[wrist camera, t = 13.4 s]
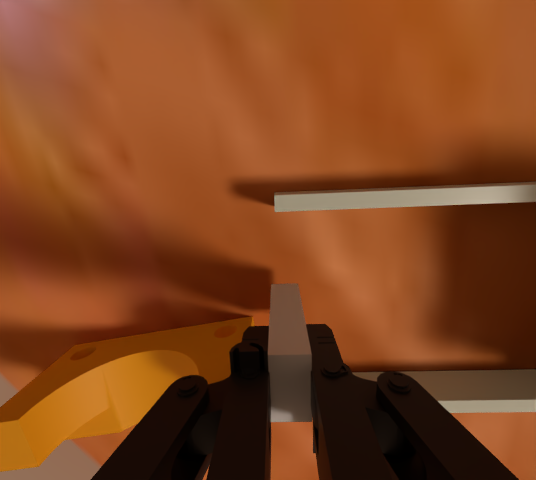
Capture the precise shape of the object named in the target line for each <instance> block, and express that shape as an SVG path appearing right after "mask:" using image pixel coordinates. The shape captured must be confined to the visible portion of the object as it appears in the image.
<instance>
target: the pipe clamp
mask: <svg viewBox="0 0 536 480" xmlns="http://www.w3.org/2000/svg"><path fill="white" fill-rule="evenodd" d="M249 326H255V325H254V320H253V316H251V317H245V318H238V319H232V320H226V321H220V322H214V323H207V324H201V325H195V326H189V327H183V328H176V329H170V330H164V331H158V332H152V333H146V334H139V335H133V336H127V337H121V338H115V339H108V340H102V341H96V342H90V343H84V344H77V345H74V346H73V347H72V348H71V349H69V350H68V351H67V352H66V353H65V354H63V355H62V356H61V357H60V358H59V359H57V360H56V361H55V362H54V363H53V364H51V365H50V366H49V367H48V368H47V369H45V370H44V371H43V372H42V373H41V374H39V375H38V376H37V377H36V378H35V379H34V380H32V381H31V382H30V383H29V384H28V385H26V386H25V387H24V388H23V389H22V390H20V391H19V392H18V393H17V394H16V395H14V396H13V397H12V398H11V399H10V400H8V401H7V402H6V403H5V404H4V405H2V406H1V407H0V472H2V471H9V470H17V469H25V468H32V467H39V466H40V465H41V463H42V462H43V461H44V460H45V459H46V458H47V457H48V456H49V455H50V454H51V452H52V451H53V450H54V449H55V448H56V447H57V446H58V445H60V444H61V443H62V442H63V441H64V440H68V439H75V438H82V437H89V436H97V435H104V434H111V433H118V432H122V431H123V430H125V429H127V428H129V427H131V426H133V425H135V424H137V423H139V422H140V420H141V419H142V418H143V417H144V416H145V415H146V413H147V412H148V411H149V410H150V409H151V407H152V406H153V405H154V404H155V403H156V401H157V400H158V399H159V398H160V397H161V395H162V394H163V393H164V392H165V391H166V390H167V388H168V387H169V386H170V385H171V384H172V383H173V382H174V381H176V380H177V379H179V378H181V377H184V376H188V375H199V376H202V377H204V378H205V379H206V380H207V382H208V384H211V383H215V382H219V381H222V380H224V379H226V378H228V377H229V376H230V374H231V368H230V355H229V351H230V350H231V348H232V347H233V346H235V345H236V344H238V343H241V342H242V337H243V332H244V331H245V330H246V329H247V328H248V327H249Z"/></svg>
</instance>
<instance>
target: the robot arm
mask: <svg viewBox="0 0 536 480" xmlns="http://www.w3.org/2000/svg"><path fill="white" fill-rule="evenodd" d="M229 355H230V368H231V374H230V376H229V377H228V378H226V379H224V380H222V381H219V382H215V383H211V384H208V382H207V380H206V379H205V378H204V377H202V376H199V375H188V376H184V377H181V378H179V379H177V380H176V381H174V382H173V383H172V384H171V385H170V386H169V387H168V388H167V390H166V391H165V392H164V393H163V394H162V395H161V397H160V398H159V399H158V400H157V401H156V403H155V404H154V405H153V406H152V407H151V409H150V410H149V411H148V412H147V413H146V415H145V416H144V417H143V418H142V419H141V420H140V422H139V423H138V424H137V425H136V426H135V428H134V429H133V430H132V431H131V432H130V434H129V435H128V436H127V437H126V438H125V439H124V441H123V442H122V443H121V444H120V445H119V447H118V448H117V449H116V450H115V451H114V453H113V454H112V455H111V456H110V457H109V459H108V460H107V461H106V462H105V463H104V464H103V466H102V467H101V468H100V469H99V471H98V472H97V473H96V474H95V475H94V476H93V478H92V479H91V480H202V479H203V477H204V475H205V473H206V471H207V469H208V467H209V470H208V475H207V479H206V480H270V473H271V422H312V418H313V453H316V459H317V467H318V474H319V480H519V479H518V478H517V477H516V476H515V475H514V474H513V473H512V472H511V471H509V470H508V469H507V468H506V467H505V466H504V465H503V464H502V463H501V462H500V461H499V460H498V459H497V458H496V457H495V456H494V455H493V454H492V453H491V452H490V451H489V450H488V449H487V448H486V447H485V446H484V445H482V444H481V443H480V442H479V441H478V440H477V439H476V438H475V437H474V436H473V435H472V434H471V433H470V432H469V431H468V430H467V429H466V428H465V427H464V426H463V425H462V424H461V423H460V422H459V421H458V420H457V419H455V418H454V417H453V416H452V415H451V414H450V413H449V412H448V411H447V410H446V409H445V408H444V407H443V406H442V405H441V404H440V403H439V402H438V401H437V400H436V399H435V398H434V397H433V396H432V395H431V394H430V393H429V392H427V391H426V390H425V389H424V388H423V387H422V386H421V385H420V384H419V383H418V382H417V381H416V380H414V379H413V378H412V377H410V376H408V375H406V374H403V373H400V372H395V371H389V372H384V373H381V374H380V375H379V376H378V377H377V382H376V381H372V380H367V379H363V378H360V377H357V376H355V375H353V374H352V371H351V370H350V368H349V367H348V366H347V365H346V364H344V363H343V360H342V358H341V355H340V352H339V349H338V346H337V344H336V341H335V338H334V335H333V332H332V330H331V329H330V328H329V327H328V326H327V325H326V324H306V323H305V318H304V312H303V307H302V302H301V297H300V292H299V287H298V284H271V300H270V319H269V326H249V327H248V328H247V329H246V330H245V331H244V332H243V337H242V342H241V343H238V344H236V345H235V346H233V347H232V348H231V350H230V351H229ZM209 465H210V466H209Z"/></svg>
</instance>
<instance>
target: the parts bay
mask: <svg viewBox="0 0 536 480" xmlns="http://www.w3.org/2000/svg"><path fill="white" fill-rule="evenodd" d="M516 202H536V182H515V183H491V184H467V185H442V186H418V187H394V188H369V189H345V190H321V191H297V192H275V193H274V203H275V212H283V211H309V210H335V209H361V208H387V207H413V206H439V205H464V204H490V203H516ZM381 373H384V372H352V374H353V375H355V376H357V377H360V378H363V379H367V380H372V381H376V382H377V377H378V376H379V375H380V374H381ZM400 373H403V374H406V375H408V376H410V377H412V378H413V379H414V380H416V381H417V382H418V383H419V384H420V385H421V386H422V387H423V388H424V389H425V390H426V391H427V392H429V393H430V394H431V395H432V396H433V397H434V398H435V399H436V400H437V401H438V402H439V403H440V404H441V405H442V406H443V407H444V408H445V409H446V410H447V411H448V412H449V413H475V412H536V369H523V370H464V371H405V372H400Z"/></svg>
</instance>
